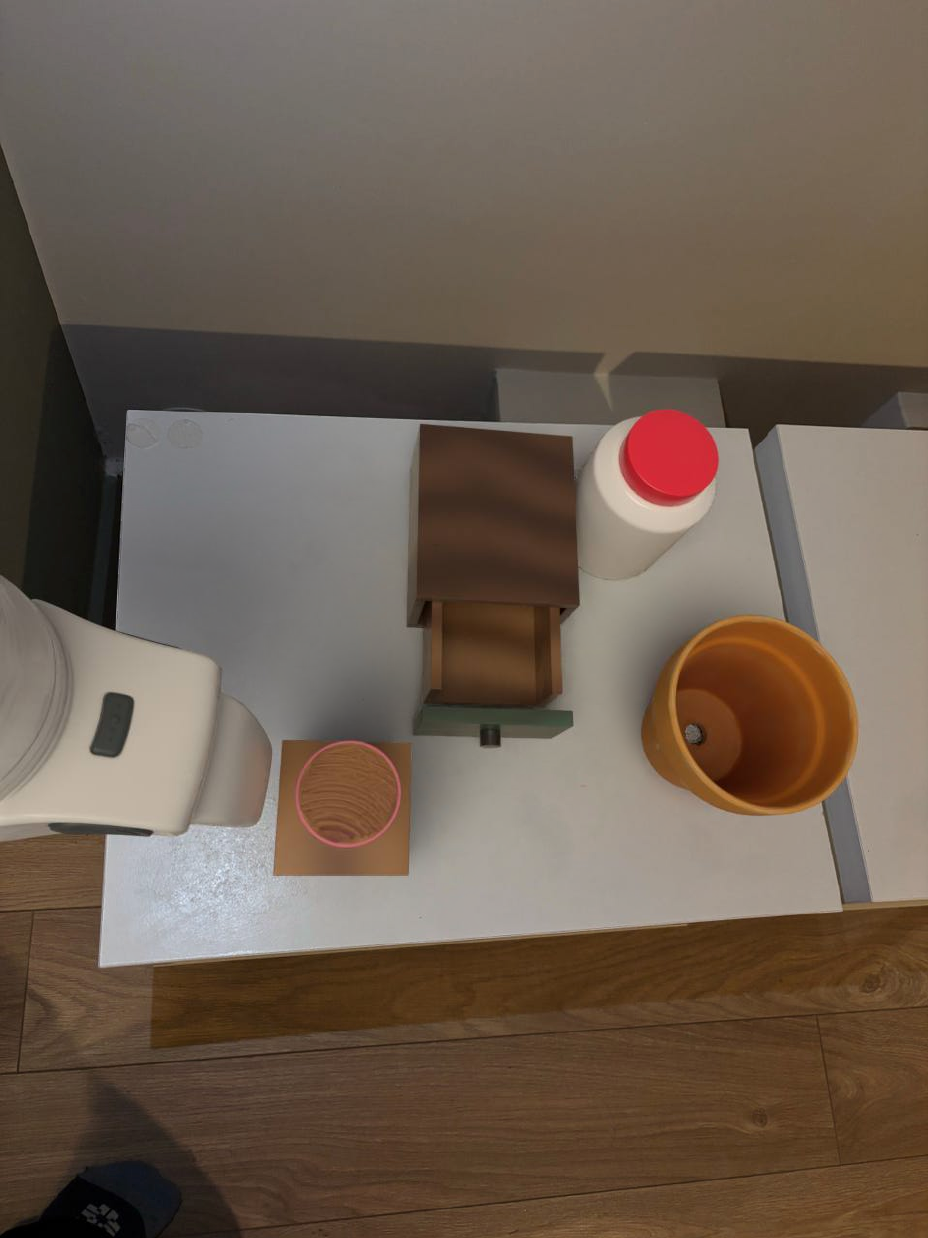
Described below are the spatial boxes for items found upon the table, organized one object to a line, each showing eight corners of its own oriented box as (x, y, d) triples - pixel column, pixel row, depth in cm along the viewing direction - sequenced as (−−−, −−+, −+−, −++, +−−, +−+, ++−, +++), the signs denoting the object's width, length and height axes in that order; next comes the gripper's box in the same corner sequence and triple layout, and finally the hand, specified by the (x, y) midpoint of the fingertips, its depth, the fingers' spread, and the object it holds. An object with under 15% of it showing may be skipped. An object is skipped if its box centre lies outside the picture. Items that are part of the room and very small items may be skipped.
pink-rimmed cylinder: (298, 851, 48) (291, 847, 38) (303, 762, 49) (298, 738, 40) (386, 851, 49) (400, 848, 39) (388, 764, 50) (402, 741, 41)
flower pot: (628, 836, 65) (697, 829, 53) (593, 667, 69) (651, 624, 57) (784, 810, 68) (884, 798, 56) (743, 649, 72) (828, 604, 60)
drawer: (551, 753, 66) (574, 742, 60) (412, 750, 64) (420, 738, 58) (546, 583, 70) (567, 557, 64) (415, 575, 68) (424, 548, 62)
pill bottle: (541, 488, 73) (590, 403, 60) (641, 468, 76) (710, 382, 62) (575, 591, 71) (634, 526, 57) (677, 567, 73) (757, 500, 60)
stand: (285, 873, 61) (272, 875, 47) (291, 766, 63) (282, 739, 50) (391, 873, 62) (409, 875, 49) (394, 768, 64) (411, 742, 51)
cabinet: (552, 634, 70) (580, 605, 62) (406, 627, 68) (416, 596, 60) (547, 480, 74) (572, 436, 66) (410, 470, 72) (419, 423, 64)
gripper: (-426, 767, 26) (-167, 821, 38) (226, 838, 27) (267, 868, 40) (-335, 586, 28) (-119, 694, 41) (261, 662, 30) (289, 743, 42)
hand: (76, 781), depth 40 cm, fingers open, 8 cm apart
